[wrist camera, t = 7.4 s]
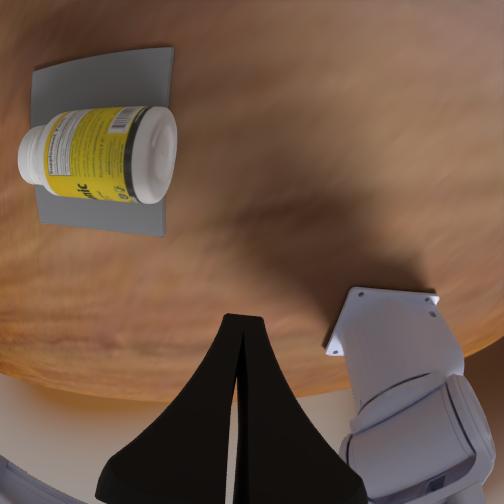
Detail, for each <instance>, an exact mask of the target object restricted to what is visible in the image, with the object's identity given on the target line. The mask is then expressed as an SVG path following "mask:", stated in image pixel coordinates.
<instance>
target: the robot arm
mask: <svg viewBox="0 0 504 504" xmlns="http://www.w3.org/2000/svg"><path fill="white" fill-rule="evenodd" d="M361 292H363V293H362V294H359V293H361ZM426 298H427V299H426ZM438 300H439V296H438V295H437V294H433V293H420V292H408V291H396V290H385V289H374V288H364V287H353V288H351V289H350V291H349V293H348V296H347V298H346V301H345V303H344V306H343V308H342V311H341V313H340V316H339V318H338V321H337V323H336V326H335V328H334V330H333V333H332V335H331V337H330V340H329V342H328V344H327V347H326V349H325V353H326V354H327V355H340V356H344V357H345V361H346V365H347V370H348V374H349V379H350V383H351V388H352V392H353V396H354V401H355V406H356V411H357V417H356V418H354V419H353V420H351V421H350V428H351V433H350V434H348V435H347V436H346V437H345V438H344V440H343V441H342V443H341V446H340V450H339V455H338V454H337V453H336V452H335V451H334V450H333V449H332V448H331V447H330V445H329V444H328V443H327V442H326V441H325V439H324V438H323V437H322V436H321V434H320V433H319V432H318V431H317V429H316V428H315V427H314V425H313V424H312V423H311V421H310V420H309V418H308V417H307V415H306V414H305V413H304V411H303V409H302V408H301V406H300V405H299V403H298V402H297V400H296V398H295V396H294V395H293V393H292V391H291V389H290V387H289V385H288V383H287V381H286V379H285V377H284V375H283V373H282V371H281V369H280V367H279V364H278V362H277V360H276V357H275V355H274V352H273V350H272V347H271V344H270V341H269V338H268V335H267V332H266V328H265V324H264V319H263V318H262V317H257V316H247V315H238V314H229V313H227V314H225V315H224V317H223V320H222V323H221V326H220V328H219V331H218V333H217V335H216V337H215V339H214V341H213V343H212V345H211V347H210V349H209V350H208V352H207V354H206V356H205V357H204V359H203V361H202V362H201V364H200V365H199V367H198V368H197V370H196V371H195V373H194V374H193V376H192V377H191V379H190V380H189V381H188V383H187V384H186V385H185V387H184V388H183V389H182V391H181V392H180V393H179V394H178V396H177V397H176V398H175V399H174V400H173V401H172V403H171V404H170V405H169V406H168V407H167V408H166V409H165V410H164V412H163V413H162V414H161V415H160V416H159V417H158V418H157V419H156V420H155V421H154V422H153V423H152V424H150V425H149V426H148V427H147V428H146V429H145V430H144V431H143V432H142V433H141V434H140V435H139V436H138V437H137V438H135V439H134V440H133V441H132V442H130V443H129V444H128V445H126V446H125V447H124V448H123V449H121V450H120V451H119V452H117V453H116V454H115V455H113V456H112V457H111V458H110V459H109V460H108V462H107V463H106V465H105V467H104V468H103V470H102V473H101V475H100V477H99V480H98V484H97V488H96V493H95V497H96V499H98V500H100V501H102V502H104V503H107V504H225V496H226V495H225V494H226V476H227V460H228V443H229V429H230V414H231V405H232V399H233V394H234V389H235V383H236V378H237V399H238V443H237V457H236V470H235V482H234V494H233V504H486V503H485V498H484V494H483V489H482V485H483V483H484V482H485V480H486V479H487V478H488V476H489V474H490V473H491V471H492V469H493V467H494V459H495V457H496V452H495V446H494V442H493V439H492V436H491V433H490V429H489V426H488V423H487V420H486V417H485V415H484V412H483V410H482V408H481V405H480V403H479V401H478V399H477V397H476V395H475V393H474V392H473V389H472V387H471V386H470V384H469V382H468V381H467V379H466V378H465V377H464V376H463V371H464V357H463V352H462V349H461V347H460V345H459V343H458V341H457V340H456V338H455V336H454V334H453V333H452V331H451V329H450V328H449V326H448V324H447V323H446V321H445V319H444V318H443V316H442V315H441V313H440V311H439V310H438V308H437V307H436V304H437V302H438ZM0 504H87V503H85V502H82V501H80V500H77V499H75V498H73V497H71V496H69V495H67V494H65V493H63V492H60V491H59V490H56V489H55V488H53V487H51V486H49V485H47V484H45V483H43V482H42V481H40V480H38V479H36V478H34V477H33V476H31V475H30V474H28V473H27V472H26V471H24V470H22V469H21V468H19V467H18V466H16V465H15V464H13V463H12V462H10V461H9V460H7V459H5V458H4V457H3V456H1V455H0Z"/></svg>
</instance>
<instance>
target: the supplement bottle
mask: <svg viewBox="0 0 504 504" xmlns="http://www.w3.org/2000/svg"><path fill="white" fill-rule="evenodd" d="M176 151H177V127H176V122H175V119H174V116H173V114H172V112H171V111H170V110H169V109H167V108H166V107H156V106H136V107H113V108H97V109H85V110H75V111H69V112H64V113H61V114H59V115H57V116H56V117H54V118H53V119H52V120H51V121H50V122H49V123H48V124H47V125H41V126H36V127H34V128H32V129H31V130H29V131H28V132H27V133H26V135H25V136H24V138H23V140H22V142H21V144H20V147H19V152H18V167H19V171H20V174H21V176H22V177H23V179H24V180H25V181H26V182H28V183H30V184H39V185H43V186H44V187H45V188H46V189H47V190H48V191H49V192H50V193H52V194H54V195H57V196H63V197H76V198H86V199H98V200H111V201H122V202H134V203H143V204H154V203H157V202H158V201H160V200H161V199H162V198H163V197H164V195H165V194H166V192H167V190H168V188H169V185H170V182H171V179H172V175H173V171H174V166H175V159H176Z"/></svg>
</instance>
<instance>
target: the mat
mask: <svg viewBox="0 0 504 504" xmlns="http://www.w3.org/2000/svg"><path fill="white" fill-rule="evenodd" d="M174 52H175V48H173V47H163V48H149V49H139V50H130V51H122V52H115V53H109V54H103V55H97V56H92V57H87V58H82V59H78V60H73V61H69V62H65V63H61V64H58V65H54V66H50V67H47V68H44V69H40V70H37V71H34V72H33V77H32V90H31V129H32V128H34V127H36V126H41V125H47V124H48V123H49V122H50V121H51V120H52V119H53V118H54V117H56V116H57V115H59V114H61V113H64V112H69V111H75V110H85V109H97V108H113V107H136V106H156V107H166V108H167V109H168V108H169V97H170V86H171V76H172V68H173V60H174ZM35 192H36V199H37V205H38V211H39V217H40V222H41V223H47V224H55V225H64V226H73V227H81V228H90V229H98V230H107V231H115V232H124V233H132V234H141V235H149V236H158V237H163V236H164V235H165V195H164V197H163V198H162V199H161V200H160V201H158V202H157V203H154V204H143V203H134V202H122V201H111V200H98V199H86V198H76V197H63V196H57V195H54V194H52V193H50V192H49V191H48V190H47V189H46V188H45V187H44V186H43V185H39V184H35Z"/></svg>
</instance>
